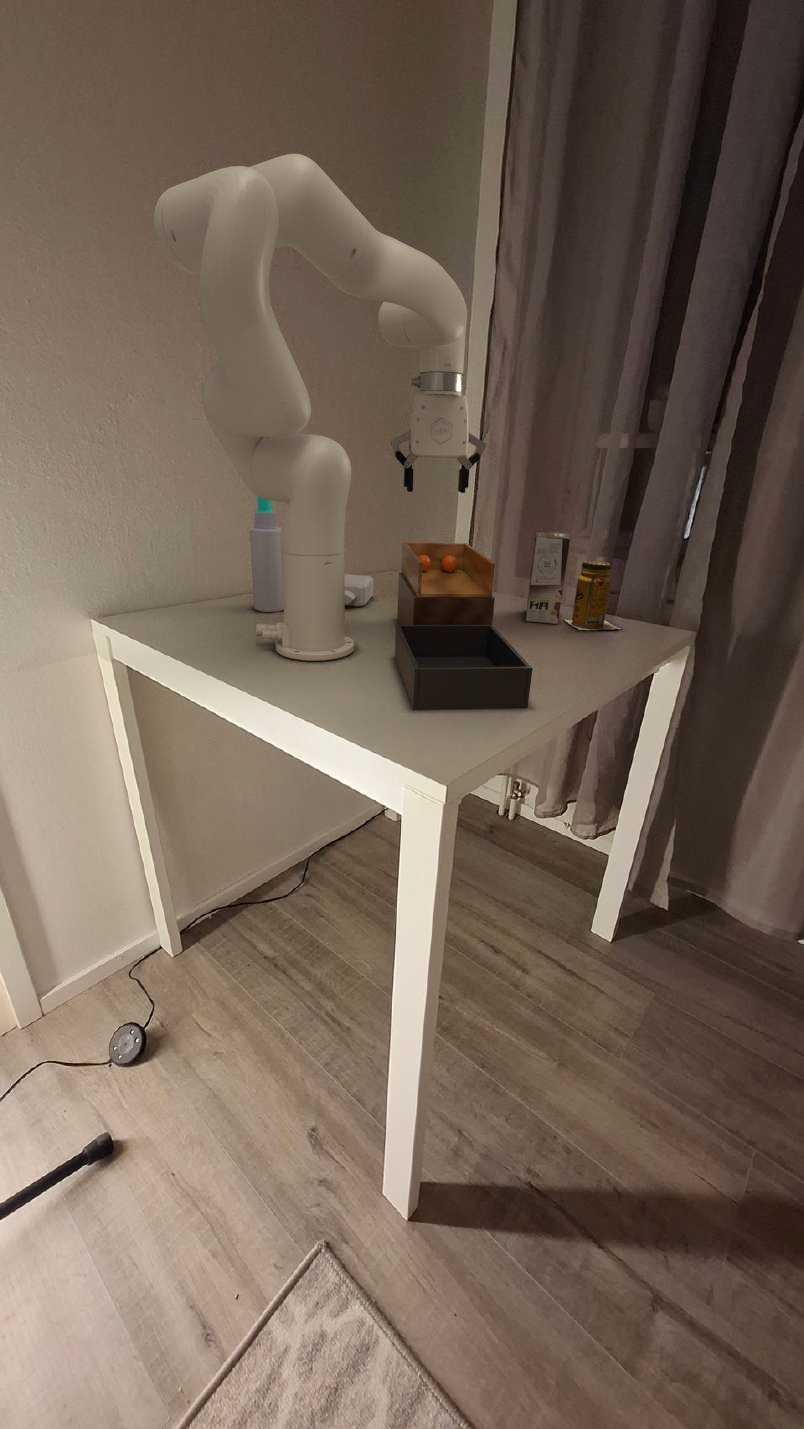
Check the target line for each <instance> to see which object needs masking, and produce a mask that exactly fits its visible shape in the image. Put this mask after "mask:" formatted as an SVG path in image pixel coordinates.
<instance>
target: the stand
mask: <svg viewBox="0 0 804 1429" xmlns="http://www.w3.org/2000/svg"><path fill="white" fill-rule="evenodd" d="M397 584H398V586H397V588H398V589H397V615H396V617H397V619H396V621H397V622H398V625H493V622H494V621H493V619H494V610H495V599H496V598H495V597H494V596H493V595H492V598H485V597H417V596H416V594H415V593H414V591H413V589H412V588H411V586H410V585H409V583H408V581H407V580H406V578H405V577H404V575H403V574H402V572H398V583H397Z"/></svg>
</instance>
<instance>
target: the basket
mask: <svg viewBox="0 0 804 1429" xmlns="http://www.w3.org/2000/svg"><path fill="white" fill-rule="evenodd" d="M394 638H395V641H394V642H395V644H394V660H395V663H396V666H397V669H398V671H399V674H400V678H401V680H402V683H403V685H404V689H405V692H406V694H407V698H408V700H409V703H410V705H411V708H412V710H414V711H415V710H416V711H418V710H419V711H420V710H459V709H460V710H463V709H464V710H469V709H470V710H471V709H473V710H474V709H522V708H523V709H526V708H527V709H528V707H529V699H530V692H531V686H532V685H531V683H532V676H533V668H534V667H532V665H530V664H529V663H528V662H527V660H526V659H525V658H524V657H523V656H522V655H521V654H520V653H519V652H518V651H517V650H516V649H515V647H513V645H512V644H511V643H510V642H509V641H508V640H507V639H506V638H505V637H504V636H503V634H501V633H500V632H499V631H498V629H497V628H496V627H494V625H493V624H492V625H399V624H395V637H394Z"/></svg>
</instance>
